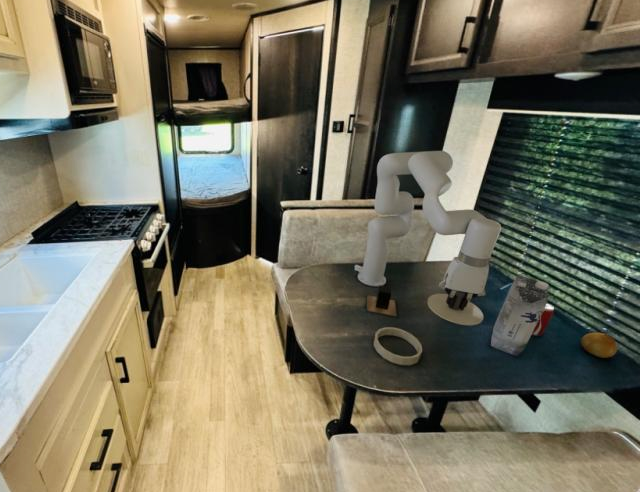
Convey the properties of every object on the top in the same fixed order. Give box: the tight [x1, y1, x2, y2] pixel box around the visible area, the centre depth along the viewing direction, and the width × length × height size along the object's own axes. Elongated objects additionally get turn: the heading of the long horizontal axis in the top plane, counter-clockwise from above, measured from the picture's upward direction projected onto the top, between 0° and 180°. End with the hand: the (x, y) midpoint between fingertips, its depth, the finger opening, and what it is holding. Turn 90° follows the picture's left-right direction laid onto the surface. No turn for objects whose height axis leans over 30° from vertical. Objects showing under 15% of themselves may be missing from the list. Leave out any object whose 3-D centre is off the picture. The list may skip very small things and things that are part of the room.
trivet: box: [366, 294, 397, 317], centre depth 130 cm, size 11×11×1 cm
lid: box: [426, 291, 484, 326], centre depth 102 cm, size 16×16×7 cm
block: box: [375, 285, 392, 310], centre depth 128 cm, size 5×5×8 cm
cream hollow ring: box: [373, 326, 423, 366], centre depth 108 cm, size 15×15×4 cm
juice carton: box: [490, 274, 550, 357], centre depth 104 cm, size 9×10×27 cm
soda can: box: [531, 302, 555, 337], centre depth 113 cm, size 5×5×12 cm
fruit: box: [581, 332, 618, 359], centre depth 105 cm, size 8×8×8 cm
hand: (455, 306), depth 103 cm, fingers closed on lid, 2 cm apart
